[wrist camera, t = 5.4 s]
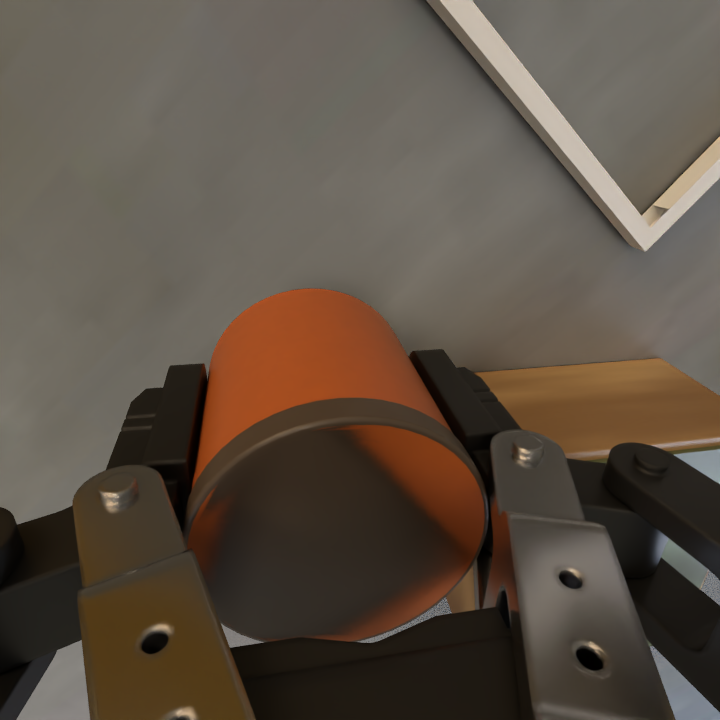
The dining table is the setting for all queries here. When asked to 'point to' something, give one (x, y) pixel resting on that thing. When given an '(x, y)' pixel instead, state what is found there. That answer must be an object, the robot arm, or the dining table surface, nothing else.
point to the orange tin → (326, 477)
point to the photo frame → (565, 143)
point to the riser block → (612, 424)
